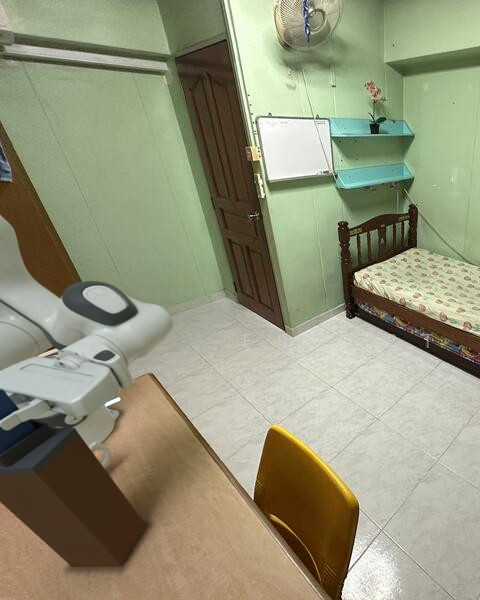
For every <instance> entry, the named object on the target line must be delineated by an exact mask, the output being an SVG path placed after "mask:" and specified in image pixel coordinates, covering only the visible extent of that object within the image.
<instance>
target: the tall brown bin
mask: <svg viewBox="0 0 480 600" xmlns="http://www.w3.org/2000/svg"><path fill="white" fill-rule="evenodd" d="M29 421H30V422H31V424H32V425H33V426H34V427H35V428H36V431H34V432H33V433H31V434H30V435H28V436H27V437H26V438H24V439H23V440H21V441H20V442H18V443H17V444H15V445H14V446H12V447H11V448H10V449H8V450H7V451H5V452H4V453H2V454H0V503H1V504H2V505H3V506H4V507H5V508H6V509H7V510H9V512H11V513H12V514H13V516H15V517H16V518H17V519H18V520H19V521H21V523H23V524H24V525H25V526H26V527H27V528H28V529H29V530H30V531H31V532H32V533H34V534H35V535H36V536H37V537H38V538H39V539H41V540H42V541H43V542H44V543H45V544H46V545H47V546H48V547H49V548H50V549H52V550H53V552H54V553H55V554H57V555H58V556H59V557H60V558H61V559H62V560H63V561H64V562H66V564H68V565H69V566H70V567H72V568H86V567H87V568H90V567H91V568H94V567H95V568H96V567H98V568H99V567H101V568H105V567H107V568H108V567H123V566H124V565H125V563H126V562H127V560H128V558H129V557H130V556H131V553H132V552H133V550H134V548H135V547H136V545H137V543H138V542H139V540H140V539H141V537H142V536H143V534H144V532H145V530H146V529H147V527H148V525H147V524H146V523H145V521H144V520H143V519H142V517H141V516H140V515H139V513H138V512H137V511H136V509H135V508H134V507H133V505H132V503H131V502H130V501H129V500H128V498H127V497H126V496H125V494H124V493H123V492H122V490H121V489H120V487H119V486H118V485H117V483H116V482H115V481H114V479H113V478H112V477H111V476H110V473H108V471H107V469H105V468H104V467H103V466H102V465H101V462H100V461H99V459H98V458H97V456H96V455H95V454H94V452H93V451H91V450H90V448H89V447H88V445H87V444H86V443H85V441H84V440H83V439H82V437H81V436H80V435H79V433H78V432H77V430H76V429H75V428H50V427H49V426H48V424H47V423H44V422H40V421H36V420H32V419H29Z"/></svg>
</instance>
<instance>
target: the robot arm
mask: <svg viewBox="0 0 480 600" xmlns="http://www.w3.org/2000/svg"><path fill="white" fill-rule="evenodd" d="M172 318H173V317H172V316H171V314H170V313H169V311H168V310H166V308H164V307H163V306H161V305H159V304H156V303H150V302H149V303H148V302H143V301H140V300H138V299H136V298H134V297H132V296H129V295H128V294H125V293H124V292H123V291H122V290H121V289H120V288H118V287H117V286H115V285H113V284H111V283H108V282H106V281H105V282H104V281H100V280H99V281H98V280H86V281H79V282H75V283H74V284H71V285H69V286H67V287H66V289H64V291H63V292H62V295H61V296H60V297H59V296H58V295H56V294H55V293H53V292H52V291H51V290H49V289H48V288H47V287H45V286H43V285H42V284H41V283H39V282H38V281H37V280H36V279H35V278H34V277H33V276H32V275H31V274H30V272H29V271H28V269H27V267H26V265H25V263H24V260H23V257H22V254H21V251H20V247H19V241H18V238H17V234H16V231H15V228H14V227H13V226H12V225H11V224H10V223H9V221H7V220H6V219H5V217H3V216H2V215H1V214H0V389H3V390H4V391H5V393H6V394H7V395H8V396H9V397H10V399H11V400H12V401H13V402H14V403H15V405H16V406H17V407H18V408H19V409H20V410H17V411H15V412H13V413H9V412H7V413H6V414H4V415H3V416H1V417H0V429H3V430H10V429H12V428H13V427H15V426H16V425H18V424H20V423H21V422H24V421H27V420H29V419H32V420H36V421H40V422H44V423H47V424H48V426H49V427H50V428H75V429H76V430H77V432H78V433H79V435H80V436H81V437H82V439H83V440H84V441H85V443H86V444H87V445H88V447H89V446H90V444H92V443H93V442H95V441H96V442H97V443H100V444H102V443H103V442H104V441H105V440H106V439H107V438H108V437H109V436H110V435H111V433H112V432H113V430H114V428H115V425H116V420H117V419H118V418H119V416H120V414H121V412H120V411H118V410H117V409H113V408H112V409H111V408H108V407H107V406H110V405H112V404H115V403H117V402H119V401H121V398H120V397H117V398H115V397H116V396H118V395H119V394H120V393H121V392H122V390H126V389H128V388H129V387H131V386H132V385H133V384H135V380H134V378H133V375H132V373H131V371H130V370H129V366H130V365H131V364H132V363H133V362H135V361H137V360H138V359H141V358H143V357H145V356H147V355H148V354H150V353H151V352H152V351H154V350H155V349H156V348H158V347H159V346H161V345H162V344H163V343H164V342H165V341H166V340H167V339H168V338H169V337H170V336H171V334H172V332H173V330H174V322H173V319H172ZM51 348H55V349H56V350H57V351H58V352H57V356H56V355H47V356H40V355H42V354H43V353H45V352H47V351H48V350H49V349H51Z"/></svg>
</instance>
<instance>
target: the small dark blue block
mask: <svg viewBox="0 0 480 600" xmlns="http://www.w3.org/2000/svg"><path fill="white" fill-rule="evenodd" d="M17 410H20V409H19V408H18V407H17V406H16V405H15V403H14V402H13V401H12V400H11V399H10V397H9V396H8V395H7V394H6V393H5V391H4V390H3V389H0V417H1V416H3V415H4V414H6V413H7V412H9V413H13V412H15V411H17ZM34 431H36V428H35V427H34V426H33V425H32V424H31V422H30V421H29V420H27V421H24V422H21V423H20V424H18V425H16V426H15V427H13V428H12V429H10V430H3V429H0V454H2V453H4V452H5V451H7V450H8V449H10V448H11V447H12V446H14V445H15V444H17V443H18V442H20V441H21V440H23V439H24V438H26V437H27V436H28V435H30V434H31V433H33V432H34Z"/></svg>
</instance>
